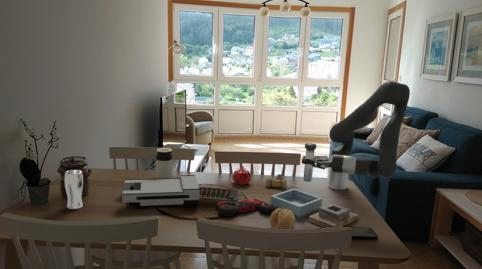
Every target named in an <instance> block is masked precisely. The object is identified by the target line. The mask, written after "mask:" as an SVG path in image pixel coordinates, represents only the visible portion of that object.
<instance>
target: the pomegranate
mask: <svg viewBox="0 0 482 269" xmlns="http://www.w3.org/2000/svg"><path fill="white" fill-rule="evenodd" d="M244 167H245V166H244V165H241V167H238V168H236V169H235V170H234V171H233V173H232V175H231V178H232V181H233V183H235V184H236V185H239V186H245V185H248V184H250V182H251V180H252V175H251V172H250V171H249V170H248V167H245V168H244Z"/></svg>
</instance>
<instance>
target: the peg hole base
mask: <svg viewBox="0 0 482 269" xmlns="http://www.w3.org/2000/svg"><path fill="white" fill-rule="evenodd" d="M358 218H359V214H357V213H355V212H352V211H351V209H350V208H347V207H344V206H341V205H339V204H336V203H332V202H330V203H328V204H325V205H322V207H320V208H319V210H318V211H317V212H315V213H312V215H311V214H310V215H309V216H308V221H309V222H311V223H313V224H316V225H318V226H321V227H323V228H326V229H328V228H327V227H341V228H342V227H345V226H347V225H348V224H351V223H353V222H355V221H357V220H358Z"/></svg>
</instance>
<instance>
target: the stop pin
mask: <svg viewBox="0 0 482 269" xmlns="http://www.w3.org/2000/svg"><path fill="white" fill-rule="evenodd" d="M304 149H305V155H304V156H305V159H314V156H315V150H316V149H317V144H316V143H313V142H312V143H311V142H306V143H304ZM313 170H314V167H312V166H311V164H310V165H309V164H304V167H303V178H302V180H303V182H306V183H311V182H312V180H313V174H314V172H313Z"/></svg>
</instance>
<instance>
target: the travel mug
mask: <svg viewBox="0 0 482 269" xmlns="http://www.w3.org/2000/svg"><path fill="white" fill-rule="evenodd" d="M156 151H157V152H156V153H157V154H156V156H155V178H173V154H172V151H173V149H172V148H169V147H160V148H157V149H156Z"/></svg>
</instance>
